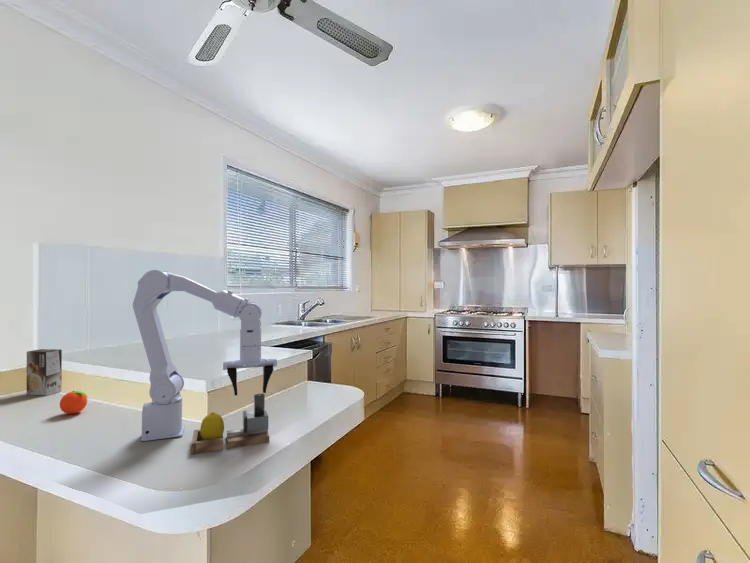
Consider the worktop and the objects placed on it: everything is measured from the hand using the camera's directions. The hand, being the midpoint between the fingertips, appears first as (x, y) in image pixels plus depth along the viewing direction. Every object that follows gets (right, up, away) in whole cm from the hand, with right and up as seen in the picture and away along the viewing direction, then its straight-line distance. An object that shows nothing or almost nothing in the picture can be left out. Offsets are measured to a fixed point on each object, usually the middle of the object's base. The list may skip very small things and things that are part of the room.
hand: (250, 393), depth 111 cm
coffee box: (-89, -10, +36) cm, 96 cm away
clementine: (-59, -10, +12) cm, 61 cm away
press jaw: (+4, -7, -8) cm, 11 cm away
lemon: (-6, -10, -12) cm, 16 cm away
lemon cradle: (-6, -9, -12) cm, 16 cm away
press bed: (+2, -9, -9) cm, 13 cm away
